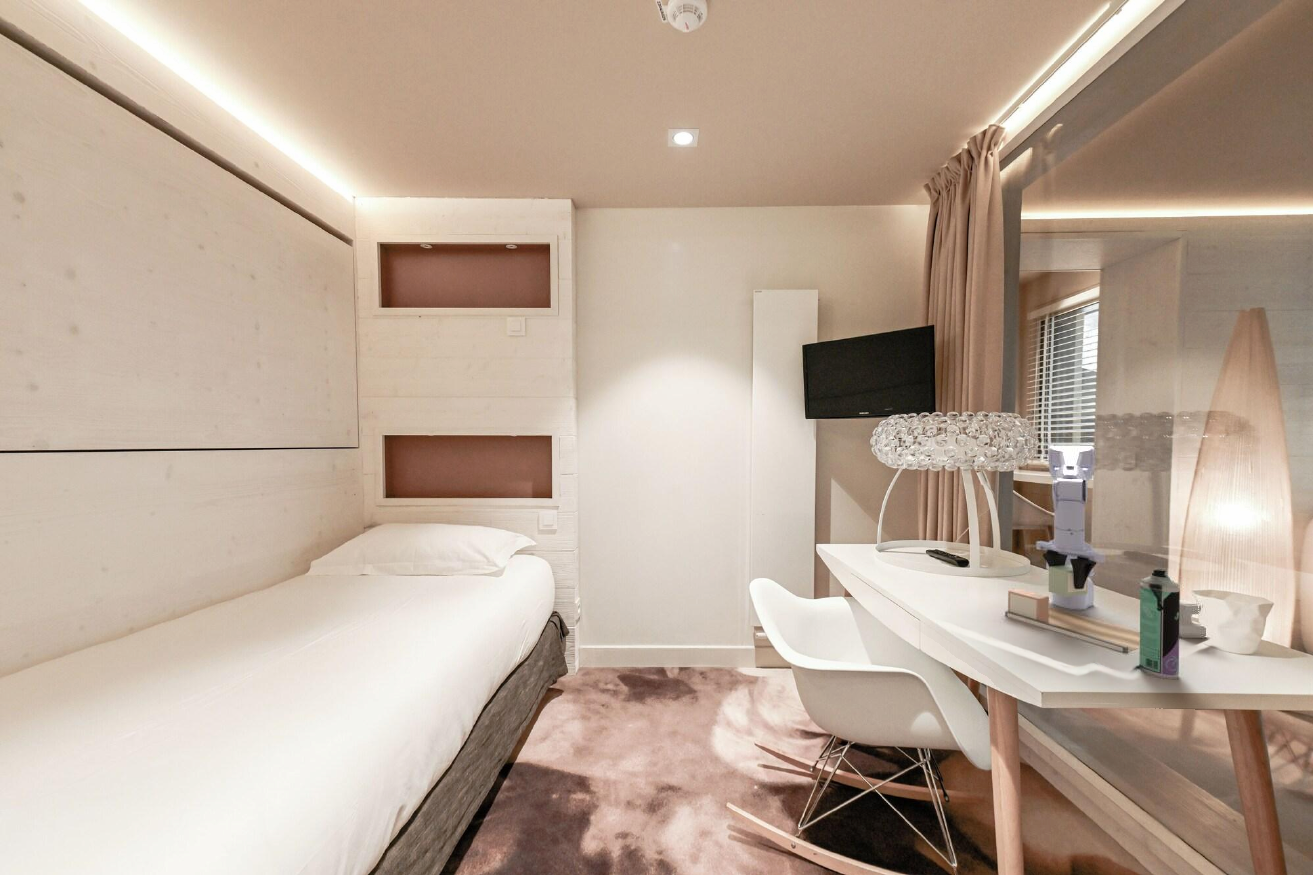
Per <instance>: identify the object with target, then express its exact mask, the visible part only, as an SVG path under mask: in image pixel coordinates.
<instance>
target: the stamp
mask: <svg viewBox="0 0 1313 875" xmlns="http://www.w3.org/2000/svg"><path fill="white" fill-rule="evenodd" d="M1201 606H1202V608H1203V606H1204V605H1202V604H1199V608H1198V603H1195V602H1192V601H1188V600H1185V599H1180V613H1179V638H1182V639H1183V638H1185V639H1196V638H1197V639H1206V638H1205V636H1206V628H1205V627H1204V626H1201V624H1202V623H1201V622H1197V621H1194V620H1192V616H1193V615H1199V614H1200V612H1202V611H1201ZM1198 609H1199V610H1198ZM1198 611H1199V612H1198Z"/></svg>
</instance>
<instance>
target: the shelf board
mask: <svg viewBox="0 0 1313 875" xmlns="http://www.w3.org/2000/svg"><path fill="white" fill-rule="evenodd" d="M1047 623H1050V624H1053V625H1057V626H1060V627H1063V628H1067V629H1070V630H1073V631H1077V632H1080V633H1083V634H1087V635H1090V636H1094V637H1097V638H1100V639H1104V640H1107V641H1110V642H1114V643H1117V644H1120V645H1124V646H1127V647H1128V652H1124V653H1125V654H1126V653H1129V652H1132V651H1135V650H1138V649H1140V631H1138V630H1135V629H1131V628H1128V627H1124V626H1121V625H1116V624H1112V623H1108V622H1104V621H1103V620H1102V621H1101V620H1097V619H1094V618H1091V617H1087V616H1083V615H1079V614H1076V613H1073V612H1070V611H1064V610H1061V609H1058V608H1054V607H1050V606H1049V622H1047Z"/></svg>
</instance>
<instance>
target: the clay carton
mask: <svg viewBox="0 0 1313 875" xmlns="http://www.w3.org/2000/svg"><path fill="white" fill-rule="evenodd" d="M1007 594H1008V595H1007V598H1008V599H1007V601H1008V602H1007V605H1008V606H1007V611H1010V612H1013V613H1017V614H1020V615H1023V616H1027V617H1030V618H1033V619H1037V620H1040V621H1043V622H1049V607H1050V596H1048V595H1044V594H1040V593H1037V592H1032V591H1028V590H1026V589H1025V590H1023V589H1021V588H1016V589H1011V590H1008V593H1007Z"/></svg>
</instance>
